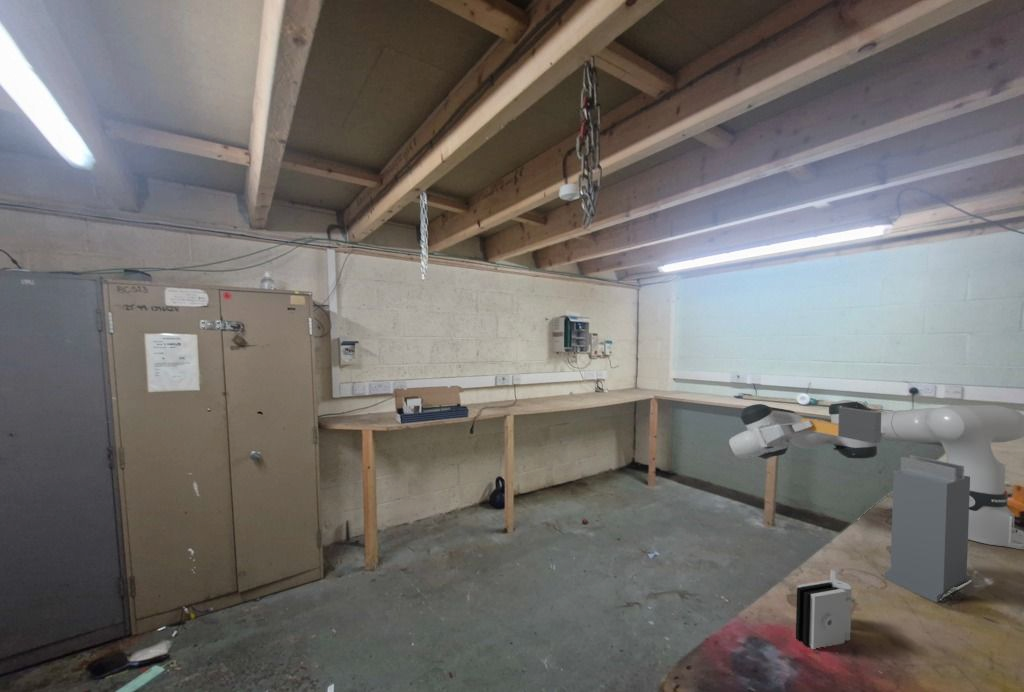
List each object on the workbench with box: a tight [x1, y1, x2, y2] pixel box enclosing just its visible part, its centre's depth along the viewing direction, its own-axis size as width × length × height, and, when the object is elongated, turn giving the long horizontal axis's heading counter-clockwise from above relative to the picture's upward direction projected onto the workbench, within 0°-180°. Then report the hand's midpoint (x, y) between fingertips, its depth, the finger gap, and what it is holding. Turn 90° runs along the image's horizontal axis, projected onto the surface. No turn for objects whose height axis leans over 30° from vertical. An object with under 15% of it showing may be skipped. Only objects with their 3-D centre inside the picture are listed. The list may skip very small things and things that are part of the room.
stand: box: [883, 454, 973, 603], centre depth 91 cm, size 18×9×29 cm, turn 114°
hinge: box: [795, 569, 852, 650], centre depth 74 cm, size 14×5×10 cm, turn 116°
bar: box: [801, 407, 882, 444], centre depth 108 cm, size 3×18×8 cm, turn 23°
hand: (816, 422), depth 113 cm, fingers closed on bar, 3 cm apart
